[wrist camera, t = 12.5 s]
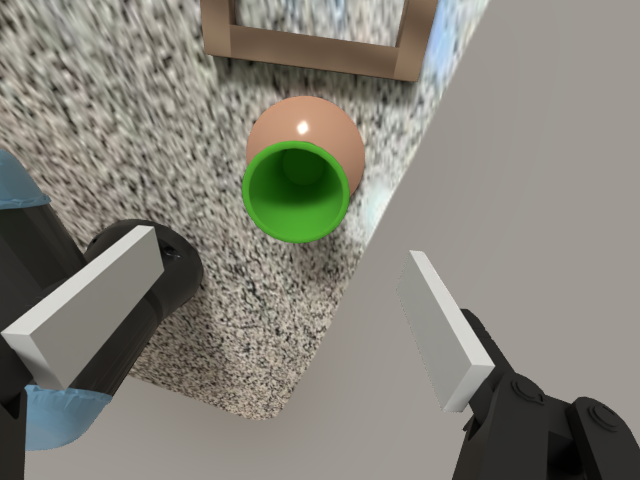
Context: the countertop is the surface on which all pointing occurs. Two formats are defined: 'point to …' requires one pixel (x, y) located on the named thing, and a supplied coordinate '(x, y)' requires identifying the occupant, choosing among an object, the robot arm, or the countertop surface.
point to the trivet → (311, 132)
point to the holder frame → (321, 44)
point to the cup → (295, 191)
